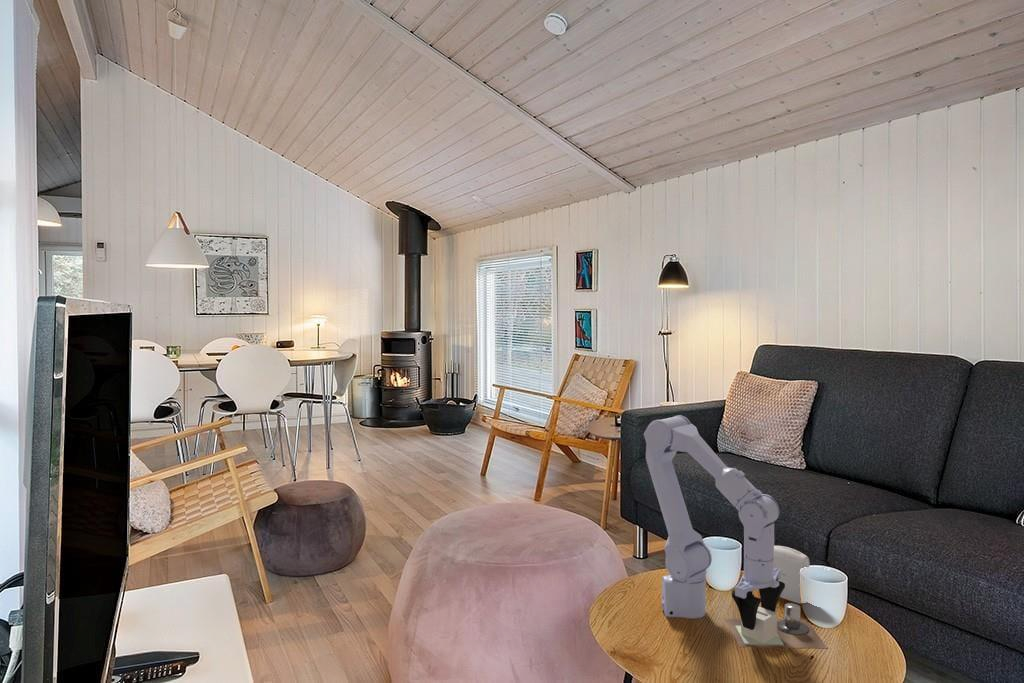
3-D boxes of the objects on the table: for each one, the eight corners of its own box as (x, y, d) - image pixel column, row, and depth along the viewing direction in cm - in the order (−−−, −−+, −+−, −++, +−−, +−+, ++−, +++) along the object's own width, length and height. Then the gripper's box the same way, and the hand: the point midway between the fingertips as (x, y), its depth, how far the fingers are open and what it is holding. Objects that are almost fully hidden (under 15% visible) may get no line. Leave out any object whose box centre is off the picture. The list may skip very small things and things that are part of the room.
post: (781, 634, 138) (781, 613, 137) (771, 620, 144) (772, 599, 144) (813, 635, 137) (814, 613, 137) (802, 620, 144) (802, 599, 143)
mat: (744, 644, 134) (744, 643, 134) (735, 626, 141) (735, 625, 141) (783, 645, 133) (783, 644, 133) (771, 627, 141) (771, 626, 141)
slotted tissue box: (741, 634, 138) (741, 611, 137) (754, 626, 141) (754, 604, 141) (763, 643, 134) (763, 620, 134) (776, 635, 137) (776, 612, 137)
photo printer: (761, 595, 159) (761, 544, 158) (770, 590, 162) (771, 540, 161) (803, 610, 151) (803, 556, 150) (812, 605, 154) (813, 551, 153)
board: (739, 652, 133) (739, 646, 133) (724, 624, 145) (724, 618, 145) (828, 654, 132) (828, 648, 132) (806, 625, 144) (806, 620, 144)
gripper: (758, 571, 129) (758, 640, 129) (795, 552, 138) (794, 617, 139) (725, 561, 134) (725, 627, 135) (763, 543, 143) (762, 606, 144)
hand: (758, 621), depth 137 cm, fingers open, 7 cm apart
